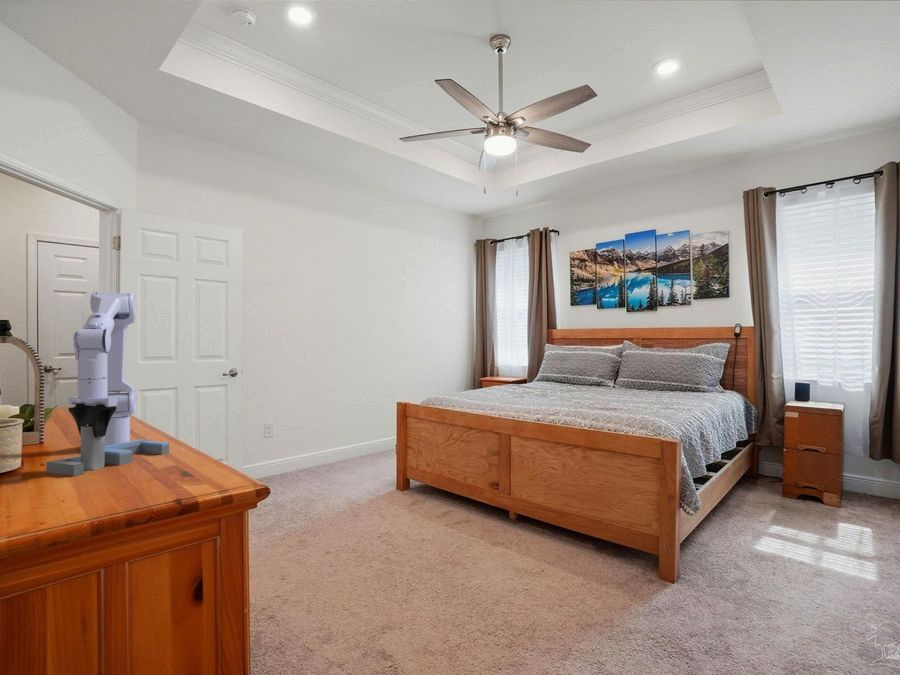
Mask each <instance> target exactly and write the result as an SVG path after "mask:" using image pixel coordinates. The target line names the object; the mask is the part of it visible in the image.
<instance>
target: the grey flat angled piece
mask: <svg viewBox="0 0 900 675" xmlns="http://www.w3.org/2000/svg"><path fill="white" fill-rule="evenodd" d="M121 449H124V450H132V453H128V454H123V455H112V454H105V465H106V464H107V465H116V466H123V465H126V464H131V463H133V455H135V454H139V453H144V454H152V455H161V456H162V455H167V454H170V444H169V445H165V446H154V445H143V444H141V445H136V446H131V447H126V448H121ZM45 465H46V466H45V467H46V468H45V472H46V473H48V474H55V475H62V476H63V475H64V476H68V477H69V476H70V477H77V476H81V475H84V463H81V454H77V455H75V456H74V455H73V456H68V457H64V458H59V459H53V460H48V461H46V463H45Z"/></svg>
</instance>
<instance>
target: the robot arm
mask: <svg viewBox="0 0 900 675" xmlns="http://www.w3.org/2000/svg"><path fill="white" fill-rule="evenodd" d="M136 299H137V298H136V295H135V293H133V292H101V291H100V292H99V291H93V292H92V294H91V295H90V300H89V301H90V302H89V303H90V309H91V310H90V311H91V312H92V314H90V315H89V316H88V318H87V319H86V320H85V321H86V322H85V323H84V325H83V327H82V328H80V329H79V330H76V331H75V332H74V334H73V349H74V353H75V354H74V355H75V356H74V357H75V358H74V359H75V360H76V361H77V378H76V379H77V381H76V382H77V386H76V387H77V393H76V394H77V395H75V396H68V405H69V406H72V405H73V406H72V407H68V412H69V413H70V414H71V416H72V417H73V419H74V421H75V424H76V427H77V430H78V433H79V436H80V437H81V426H82V425H87V424H92V429H93V435H94V437H102V436H105V446H109V445H114V444H119V443H124V442H130V441H131V420H130V419H131V415H133V414H134V413H135V412H136V409H137V394H136V388H135V386H133V385H132V384H130V383H129V382H127V381H125V378H126V377H125V375H126V374H125V373H126V368H125V367H126V344H127V343H126V342H127V340H126V339H127V330H128V326H129V325H132V324H133V323H135V320H136V314H137V313H136V311H137V310H136V308H137V302H136V301H137V300H136Z"/></svg>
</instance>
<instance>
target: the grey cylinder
mask: <svg viewBox="0 0 900 675" xmlns="http://www.w3.org/2000/svg"><path fill="white" fill-rule="evenodd" d="M80 455H81V463H84V471H85V472H87V471H94V470H95V471H96V470H100V469H103V468H104V467H105V466H106V463H105V436H102V437H94V435H93V429H92V424H87V425H82V426H81V436H80Z"/></svg>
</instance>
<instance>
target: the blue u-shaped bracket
mask: <svg viewBox="0 0 900 675" xmlns="http://www.w3.org/2000/svg"><path fill="white" fill-rule="evenodd" d="M141 444H143V445H154V446H165V445H169V446H170V442H167V441H157V440H155V441H154V440H147V439H143V438H141V439H135V440H130V442H124V443H119V444H114V445H109V446H105V454H112V455H123V454H128V453H132V450H124V449H121V448H126V447H131V446H136V445H141Z"/></svg>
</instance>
